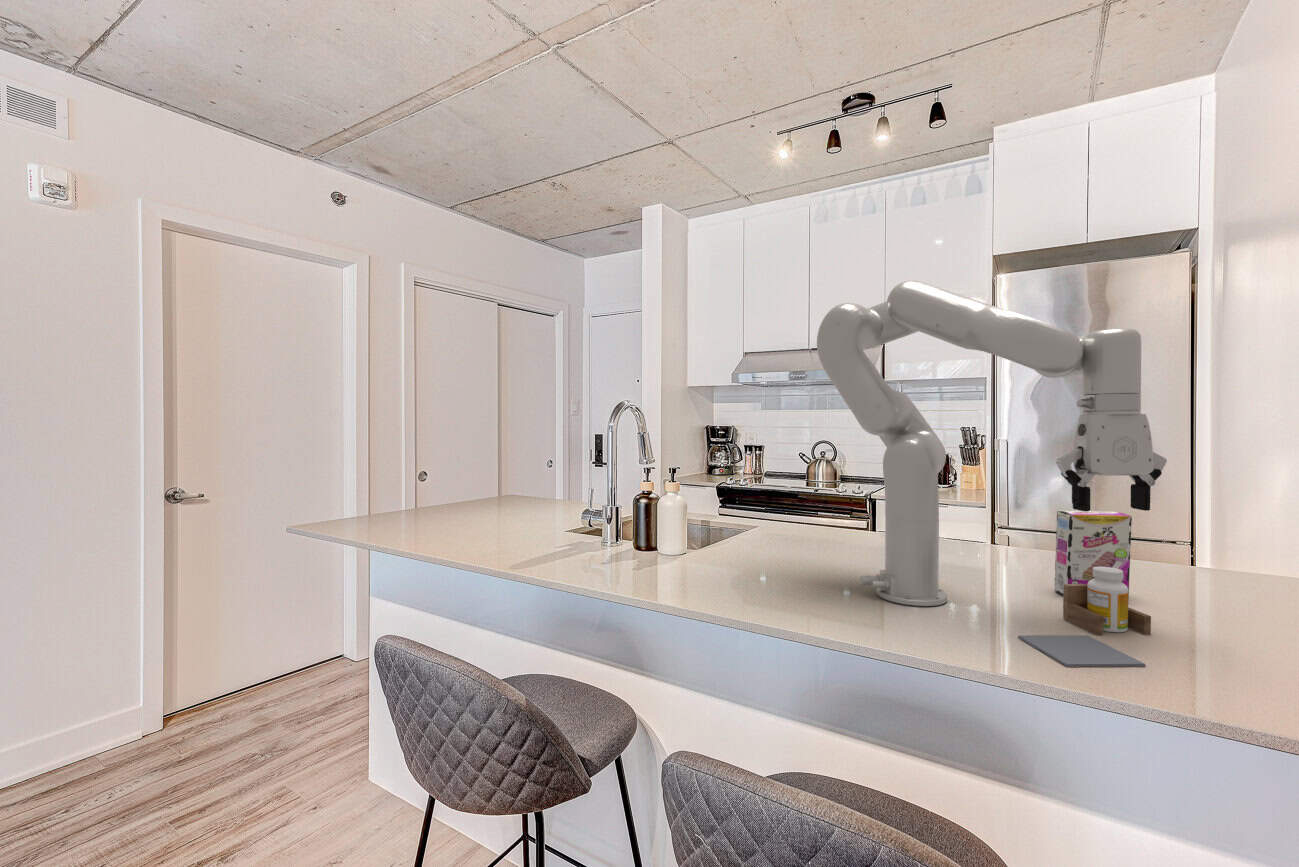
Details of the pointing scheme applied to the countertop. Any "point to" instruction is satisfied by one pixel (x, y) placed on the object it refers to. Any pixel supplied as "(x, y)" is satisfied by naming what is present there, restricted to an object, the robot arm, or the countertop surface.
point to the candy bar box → (1091, 545)
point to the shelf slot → (1092, 621)
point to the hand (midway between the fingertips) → (1110, 509)
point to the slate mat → (1080, 651)
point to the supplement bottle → (1109, 598)
